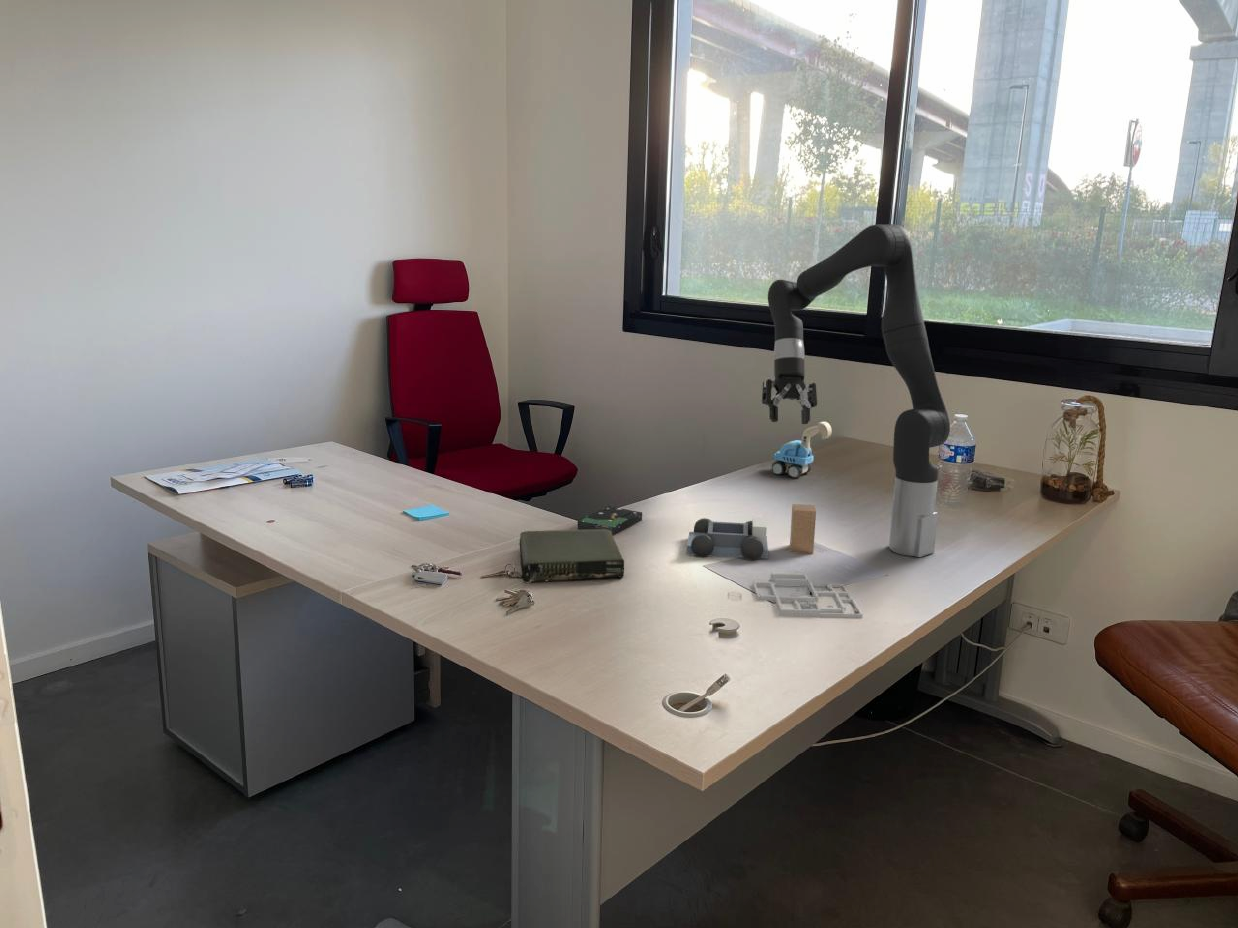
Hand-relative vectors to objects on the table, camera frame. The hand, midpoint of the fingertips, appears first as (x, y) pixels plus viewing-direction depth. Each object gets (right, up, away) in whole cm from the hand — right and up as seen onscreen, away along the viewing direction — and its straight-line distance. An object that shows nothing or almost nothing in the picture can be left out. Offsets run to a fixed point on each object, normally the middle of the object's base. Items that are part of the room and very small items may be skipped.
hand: (790, 422), depth 230 cm
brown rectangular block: (-1, -30, -18) cm, 35 cm away
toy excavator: (+12, -14, +47) cm, 50 cm away
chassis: (-18, -30, -18) cm, 39 cm away
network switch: (-53, -33, -29) cm, 69 cm away
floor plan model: (-9, -38, -45) cm, 60 cm away
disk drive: (-45, -26, -2) cm, 52 cm away
